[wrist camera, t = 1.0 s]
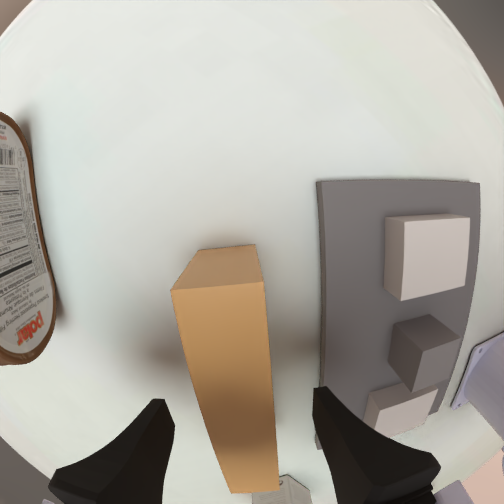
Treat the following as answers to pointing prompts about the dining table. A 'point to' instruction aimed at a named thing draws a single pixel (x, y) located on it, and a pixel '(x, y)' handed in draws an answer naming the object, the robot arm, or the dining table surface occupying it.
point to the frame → (231, 362)
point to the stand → (395, 293)
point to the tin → (22, 256)
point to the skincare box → (284, 493)
